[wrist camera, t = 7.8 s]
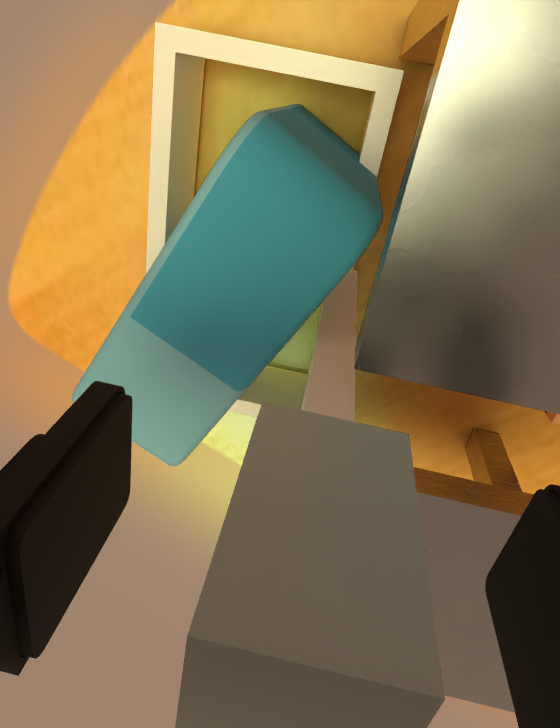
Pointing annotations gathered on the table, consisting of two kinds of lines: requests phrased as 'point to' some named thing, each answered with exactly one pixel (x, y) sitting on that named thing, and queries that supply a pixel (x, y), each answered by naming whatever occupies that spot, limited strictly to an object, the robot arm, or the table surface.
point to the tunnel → (475, 289)
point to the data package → (238, 276)
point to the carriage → (301, 479)
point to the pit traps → (553, 417)
